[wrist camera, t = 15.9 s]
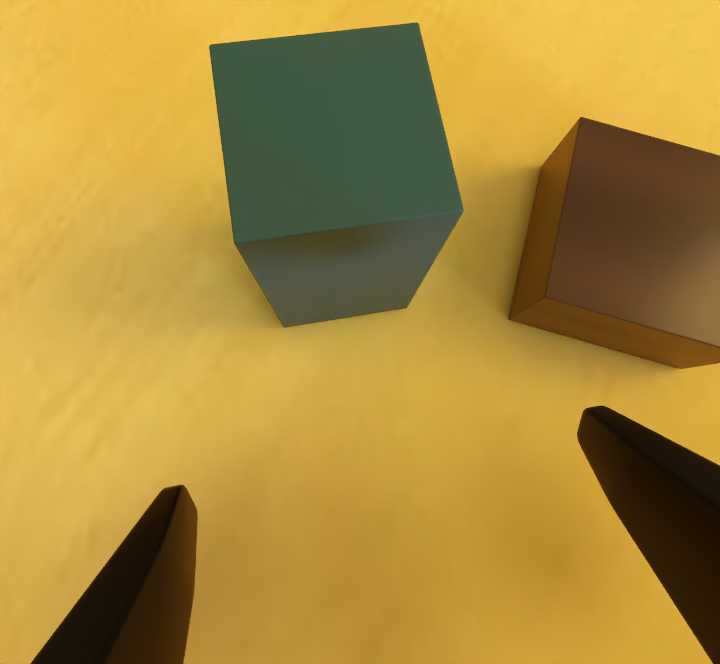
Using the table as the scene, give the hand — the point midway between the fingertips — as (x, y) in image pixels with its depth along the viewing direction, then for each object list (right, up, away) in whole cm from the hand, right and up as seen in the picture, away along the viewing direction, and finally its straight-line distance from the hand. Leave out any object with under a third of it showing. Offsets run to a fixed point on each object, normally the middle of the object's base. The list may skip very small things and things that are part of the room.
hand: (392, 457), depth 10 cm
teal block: (-2, +6, +10) cm, 12 cm away
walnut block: (+11, +6, +10) cm, 16 cm away
